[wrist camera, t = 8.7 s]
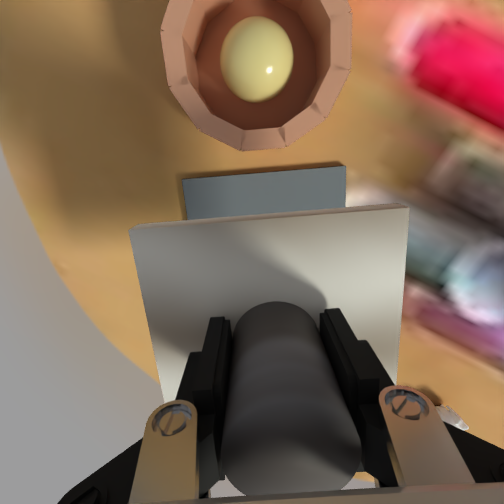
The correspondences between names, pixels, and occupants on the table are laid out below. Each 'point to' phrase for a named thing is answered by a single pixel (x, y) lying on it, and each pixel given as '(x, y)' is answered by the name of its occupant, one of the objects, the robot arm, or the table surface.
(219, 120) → the bowl
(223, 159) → the table surface
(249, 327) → the lid
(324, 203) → the mat
